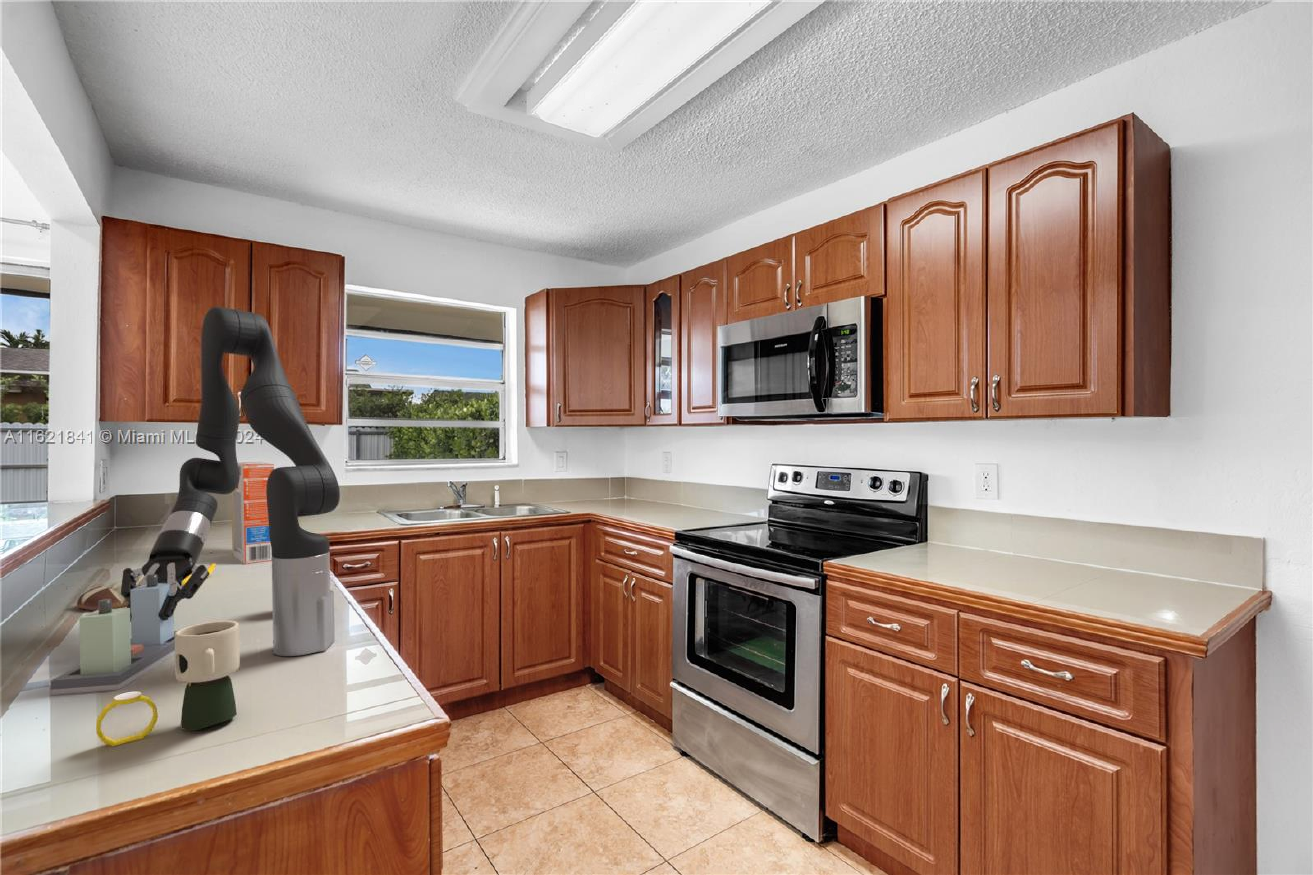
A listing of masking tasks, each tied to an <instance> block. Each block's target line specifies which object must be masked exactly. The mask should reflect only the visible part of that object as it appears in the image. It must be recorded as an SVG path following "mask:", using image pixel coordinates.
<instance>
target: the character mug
mask: <svg viewBox="0 0 1313 875" xmlns="http://www.w3.org/2000/svg"><path fill="white" fill-rule="evenodd" d="M176 631H177V632H175V655H174V671H175V672H174V673H175V674H174V676H175V679H176V681H177V682H180V683H187V684H186V686H185V687H184V695H183V701H182V706H181V717H180V718H181V719H180V729H183V730H186V731H195V730H196V731H198V730H201V729H204V728H212V727H213V725H214V726H215V725H218V724H220V723H224V722H226V721H228V720H231V719H233V718H234V717H235V716H237V714H238V713H237V704H236V697H235V694H234V687H233V683H232V678H231V677H230V676H231V675H232V674H234V673H235V672H237V671H238V670H239V668H240V664H241V663H240V624H239V622H238V621H234V620H217V621H208V622H202V623H197V624H192V625H190V626H186V627H183V628H181V629H178V630H176Z"/></svg>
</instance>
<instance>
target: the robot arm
mask: <svg viewBox="0 0 1313 875" xmlns="http://www.w3.org/2000/svg"><path fill="white" fill-rule="evenodd" d="M201 326H202V327H201V338H200V339H201V340H200V341H201V343H200V344H201V345H200V347H201V350H200V354H201V355H200V356H201V357H200V367H201V368H200V371H201V372H200V373H201V374H200V375H201V376H200V378H201V381H200V382H201V383H200V384H201V395H200V397H201V400H200V410H199V416H198V423H197V430H196V435H195V445H196V446H197V447H198V448H200V449H202V450H205V451H207V452H210V453H212V454H214V455H216V457H218V459H219V460H217V459H210V458H209V459H208V458H204V457H192V458H189V459H187V460H186V461H184V463H183V464H182V465H181V467H180V470H179V487H178V488H179V489H178V494H177V498H176V502H175V504H174V506H173V508H172V511H171V513H170V514H169V516H168V518H167V520H166V521H165V522H164V524H163V526H162V528H160V532H159V533H158V536H157V538H156V540H155V542H154V544H153V546H152V549H151V550H150V553H149V558H148V560H147V561H146V563H145V564H143V565H142V567H141V568H136V569H132V568H131V567H126V568H125V569H124V570H123V571H122V578H121V579H122V580H121V582H122V586H121V595H122V596H123V597H124V598H125V599H126V601H127V602H129V604H128V606H127V607H126V608H130V623H131V597H130V590H131V589H134V588H136V586H137V587H139V586H141V585H147V580H146V576H147V575H151V574H158V583H168V584H170V588H169V591H168V595H169V596H168V597H166V598H165V601H164V603H163V605H162V608H161V610H160V612H159V614H158V616H159V618H161V620H162V621H164V620H168V618H169V617H171V616H172V615H173V613H174V614H175V610H176V609H177V606H178V603H179V602H180V601H182V600H184V599H187V600H190V599H192V598H193V597H194V595H195V594H196V593H197V592H198V590H199V589H200V588H201V586H202V585H203V584H204V582H205V581H206V579H208V578H209V576H210V575H209V572H208V570H207V568H208V567H206V566H205V565H204V564H201V565H199V566H197V565H196V564H197V562H198V561H199V560H198V559H199V557H200V555H201V552H202V550H203V547H204V545H205V543H206V541H207V539H208V535H209V531H210V528H211V524H212V522H213V519H214V518H215V514H216V513H217V510H218V507H219V506H218V505H219V504H218V501H217V498H215V497H214V496H213V495H211V494H214V495H215V494H217V495H229V494H231V492H233V491H234V490H235V489H236V487H237V486H238V484H239V479H240V475H239V468H238V463H239V462H238V458H237V457H238V456H237V450H236V449H237V447H236V444H237V437H238V430H239V425H240V421H241V420H240V418H241V413H240V407H239V404H238V401H237V399H236V397H235V395H234V393H233V391H232V388H231V387H230V386H229V382H228V381H227V378H226V376H225V373H224V368H223V363H224V362H223V360H224V354H228V355H229V354H230V355H239V356H245V357H248V358H249V359H250V360H251V362H252V365H253V370H252V372H251V373H250V375H249V376H248V378H247V379H246V380H245V382H244V385H243V386H242V388H241V392H240V396H239V397H240V398H239V399H240V403H241V406H242V409H243V413H244V414H245V416H246V419H247V422H248V423H249V426H250V428H251V429H252V430H253V432H254V433H256V434H257V435H258V437H261V439H263V440H264V441H266V442H267V443H268V444H270V445H271V446H273V447H274V448H275V449H277V450H278V451H280V452H281V453H283V455H286V456H287V457H288V459H290V461H291V462H292V463H293V464H294V465H295V466H294V465H293V466H280V467H276V468H274V470H273V471H272V472H271V473H270V475H269V477H268V481H267V489H266V495H267V508H268V520H269V537H270V543H271V550H272V561H271V581H272V582H271V592H272V593H271V594H272V595H271V596H272V600H271V602H272V605H271V606H272V645H273V654H274V655H276V656H279V657H295V656H296V657H297V656H304V655H309V654H312V653H317V652H325V651H326V650H327V649H328V648H329V647H330V646H331V645H332V644H333V643H334V642H335V638H336V637H335V635H336V634H335V633H336V632H335V592H334V590H333V589H331V563H330V562H331V561H330V560H331V558H330V557H331V556H330V554H331V552H330V548H331V547H330V539H329V537H328V536H327V535H325V534H322V533H321V534H320V533H315V532H310V531H308V530H305V529H303V528H302V527H301V526H300V522H299V518H300V517H310V516H311V517H313V516H319V515H323V514H324V515H325V514H328V513H329V514H330V513H332V512H333V511H335V509H336V508H337V507H338V506H339V502H340V497H341V496H340V493H341V492H340V485H339V482H338V479H337V476H336V474H335V472H334V470H333V468H332V467H331V464H330V463H329V461H328V459H327V457H326V456H325V454H324V453H323V450H321V448H320V446H319V444H318V443H317V441H316V438H314V435H313V434H312V431H311V430H310V427H309V425H308V422H307V421H306V418H305V416H304V414H303V411H302V408H301V405H300V403H299V401H298V399H297V397H296V394H295V392H294V389H293V388H292V386H291V384H290V382H289V380H288V377H287V375H286V372H285V371H284V368H283V365H282V362H281V360H280V357H279V354H278V350H277V346H276V343H275V341H274V337H273V333H272V331H271V330H272V329H271V328H270V325H269V323H268V322H267V320H266V318H265V317H264V316H262V315H261V314H258V313H257V312H256V313H255V312H253V311H252V312H251V311H246V310H240V309H235V308H234V309H233V308H228V307H222V306H213V307H211V308H210V309H209V310H207V312H206V314H205V315H204V319H203V321H202V325H201ZM209 493H210V494H209ZM189 575H191V577H190V578H189V579H188V581H187V582H186V583H185V584H184V586H183V580H184V579H186V578H187V577H188V576H189ZM142 576H143V577H142ZM141 577H142V578H141ZM140 578H141V579H142V580H141V581H140V582H139V583H138V581H139V579H140ZM137 584H138V585H137Z"/></svg>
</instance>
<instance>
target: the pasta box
mask: <svg viewBox="0 0 1313 875" xmlns="http://www.w3.org/2000/svg"><path fill="white" fill-rule="evenodd" d="M237 463H238V468H239V475H240V479H239V484H238V486H237V487H236V489H235V490H234V491H233V492H231V493H230V494H231V539H232V541H231V542H232V547H231V548H232V555H233V556H234V557H235V558H237V560H239V561H240V562H241V563H242V564H244V565H253V564H259V563H268V562H272V550H271V543H270V537H269V520H268V508H267V495H266V489H267V481H268V477H269V475H270V473H271V472H272V471H273V470H274V469H275V465H274V463H269V462H263V461H253V462H252V461H250V462H249V461H248V462H246V461H245V462H237Z"/></svg>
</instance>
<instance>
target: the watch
mask: <svg viewBox="0 0 1313 875" xmlns="http://www.w3.org/2000/svg"><path fill="white" fill-rule="evenodd" d="M135 702H143V703H146V704H147V705H148V706H149V707H150V708H151V709H152V717H151V719H150V722H149V724H148V725H147V727H145V728H144V729H143V730H142V731H141V732H140V733H137V734H133V735H130V736H126V737H121V738H118V739H113V738H110V737H108V736H106V735H105V734H104V733H103V731H102V729H101V728H102V722H103V720H104V718H105V717H106V715H107V714H108V712H109V711H111V710H113V709H114V708H115V707H116V706H122V705H123V706H124V705H129V704H133V703H135ZM158 717H159V716H158V709H157V705H156V703H155V702H154V701H153V700H152V699H151V698H149V697H148V696H145V695H142V692H140V691H129V692H124V693H120V694H117V695H115V696H114V697H113V700H112V701H111V702H110V703H108V704H107V705H105V706H104V708H103V709H102V710H101V712H100V714H99V715H98V716H97V719H96V727H95V730H96V731H95V732H96V735H97V737H98V738H99V739H100V741H101V742H102V743H103V744H106V745H108V746H111V747H116V746H119V745H122V744H126V743H130V742H135V741H139V740H143V739H145V737H146V736H148V735H149V733H151V731H153V729H154V727H155V725H156V724H157V721H158Z"/></svg>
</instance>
